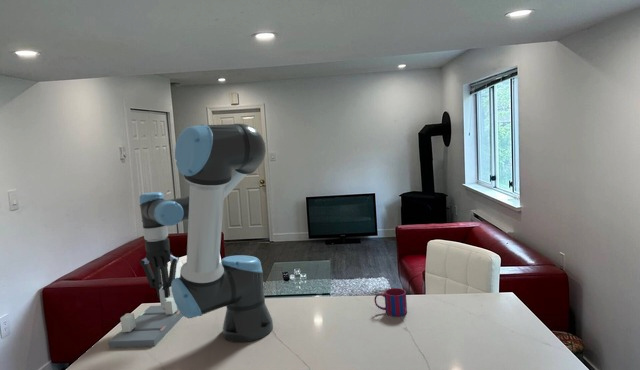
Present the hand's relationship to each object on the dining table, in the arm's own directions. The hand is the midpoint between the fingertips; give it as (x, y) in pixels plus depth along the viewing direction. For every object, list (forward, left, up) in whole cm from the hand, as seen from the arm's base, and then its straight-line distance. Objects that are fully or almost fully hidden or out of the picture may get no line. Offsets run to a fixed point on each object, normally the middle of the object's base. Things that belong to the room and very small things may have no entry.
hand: (165, 306), depth 143 cm
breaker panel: (-5, +4, -4) cm, 8 cm away
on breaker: (-9, +10, -2) cm, 14 cm away
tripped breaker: (-1, -2, -2) cm, 3 cm away
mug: (-25, -71, -5) cm, 76 cm away
